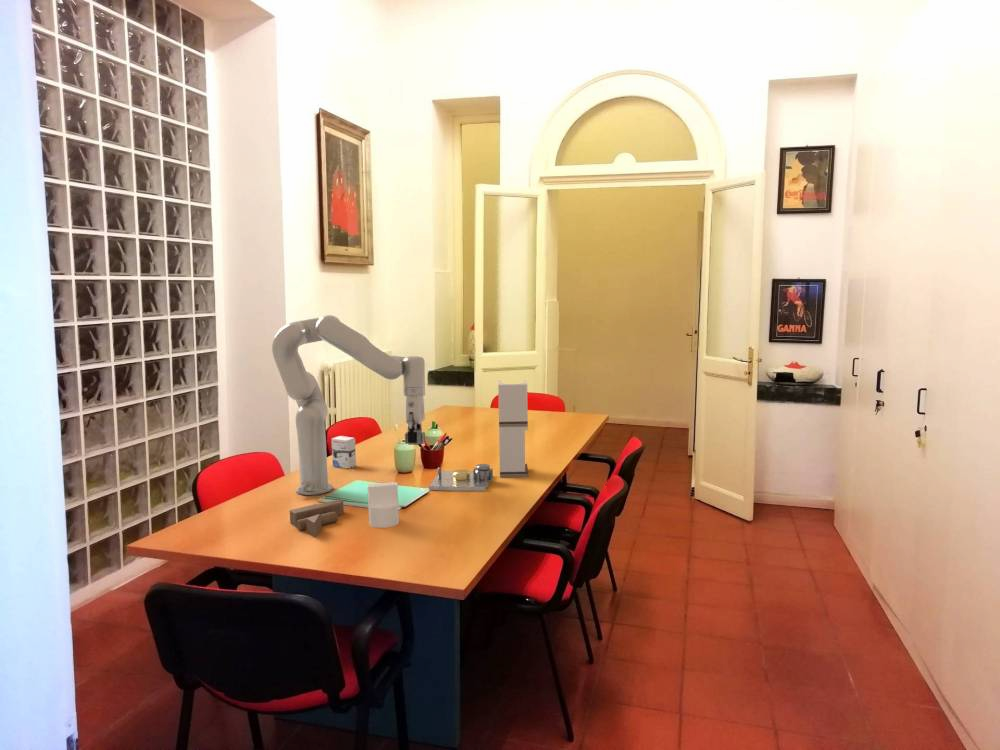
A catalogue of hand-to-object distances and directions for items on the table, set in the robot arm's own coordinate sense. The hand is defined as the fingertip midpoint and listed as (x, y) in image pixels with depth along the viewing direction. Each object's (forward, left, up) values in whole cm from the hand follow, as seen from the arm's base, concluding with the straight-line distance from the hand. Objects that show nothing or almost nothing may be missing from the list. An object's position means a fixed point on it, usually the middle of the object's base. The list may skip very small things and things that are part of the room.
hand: (414, 440), depth 250 cm
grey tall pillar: (+18, -34, -17) cm, 42 cm away
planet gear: (0, 0, -1) cm, 1 cm away
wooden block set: (-42, +18, -17) cm, 49 cm away
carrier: (+4, -16, -17) cm, 23 cm away
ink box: (+25, +35, -17) cm, 46 cm away
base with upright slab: (-40, +1, -17) cm, 43 cm away
